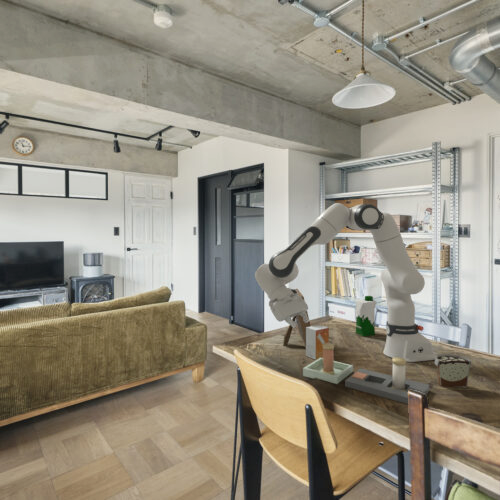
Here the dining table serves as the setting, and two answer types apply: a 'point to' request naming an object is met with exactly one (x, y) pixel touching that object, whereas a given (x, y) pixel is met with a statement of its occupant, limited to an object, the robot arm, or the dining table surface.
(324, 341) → the small box
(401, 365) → the cylinder
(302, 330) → the photo frame
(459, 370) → the food container
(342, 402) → the dining table surface
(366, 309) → the milk carton
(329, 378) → the tray
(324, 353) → the marked fuse
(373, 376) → the block
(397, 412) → the dining table surface
